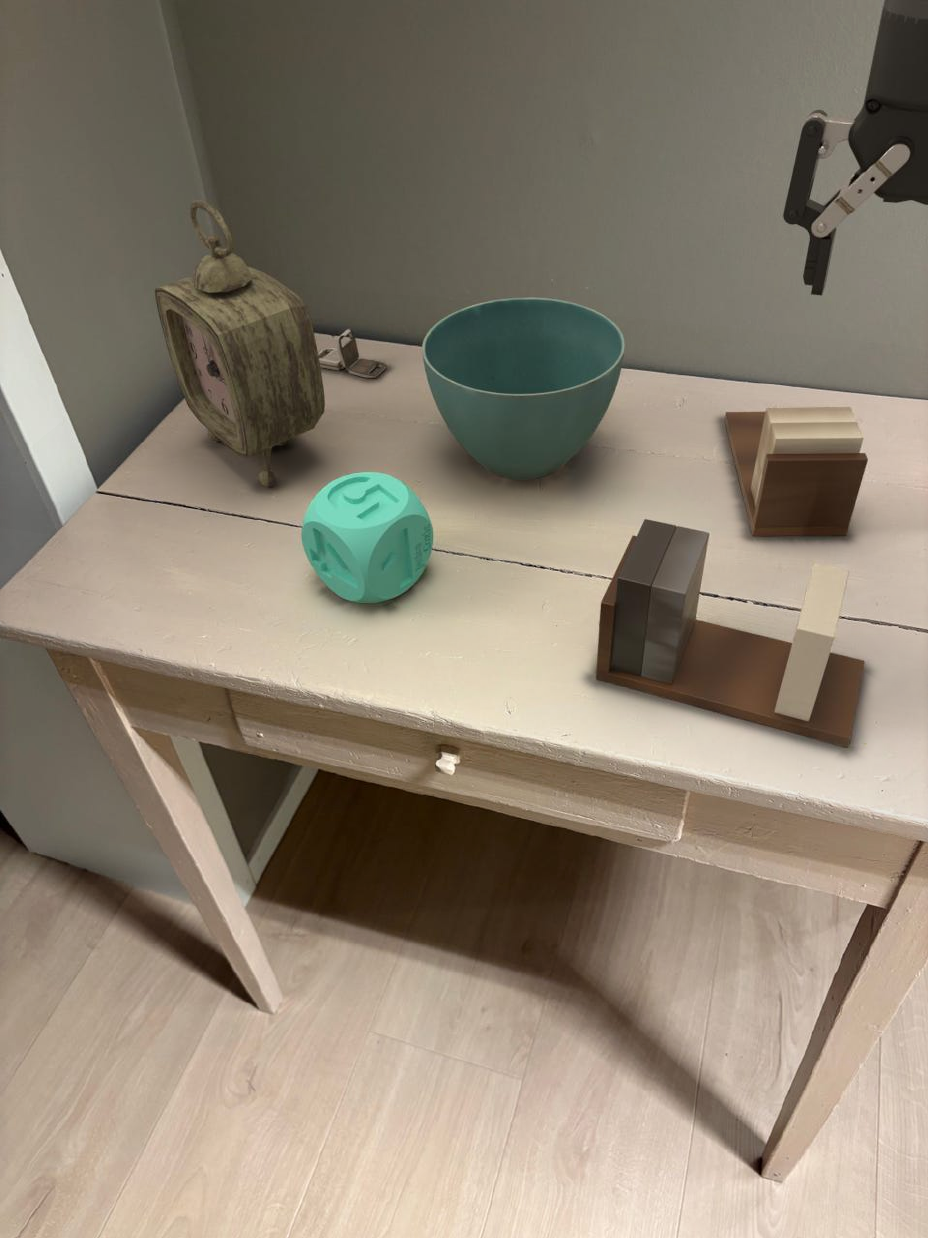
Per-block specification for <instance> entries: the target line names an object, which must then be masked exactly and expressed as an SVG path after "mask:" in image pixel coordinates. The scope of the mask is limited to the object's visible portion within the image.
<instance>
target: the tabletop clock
mask: <svg viewBox="0 0 928 1238" xmlns="http://www.w3.org/2000/svg"><path fill="white" fill-rule="evenodd" d="M198 209H201V210H203V211H204V212H206V213H208V214H209V216H211V217H212V218H213V219H214V220H215V221H216V222H217V224H218V225H219V227H220V228H221V231H222V233H223V234H224V236H225V238H226V243H227V247H226V248H224V247H222V244H221V239H220V237H219V235H216V234H211V235H209V236H208V235H206V234H205V232H204V230H203V229H201V227H200V225H199V223H198V219H197V210H198ZM189 215H190V219H191V223H192V226H193V228H194V231H195V232H196V234H197V236H198V238H199V240H200V241H201V242H202V243H203V245H204V246H205V247H206V248H207V249H208V250H209V252H210V254H207V255H205V256H204V257H202V258H201V259H200V260H199V261H198V263H197V264H196V266H195V268H194V271H193V275H191V276H189V277H185V278H182V279H180V280H176V281H174V282H171V283H168V284H165V285H162V286H159V287H156V288H154V295H155V304H156V308H157V312H158V317H159V321H160V326H161V329H162V332H163V336H164V340H165V345H166V347H167V351H168V354H169V357H170V361H171V363H172V366H173V370H174V373H175V377H176V379H177V382H178V385H179V388H180V391H181V393H182V396H183V397H184V400H185V402H186V405H187V407H188V408H189V410H190V411H191V413H192V414H193V415H194V417H196V419H197V421H199V422H200V424H202V426H203V427H204V428H206V429H207V436H208V438H209V439H210V440H212V441H213V442H218V441H219V442H221V443H222V444H223V445H224V446H226V447H227V448H228V449H230V450H231V451H232V452H234V453H235V454H237V455H238V456H240V457H242V458H247V459H249V458H251V457H253V456H255V455H257V454H259V453H262V461H263V470H262V471H261V472H260V473H259V475H258V479H259V482H260V484H261V485H262V486H264V487H271V486H273V485H274V484H275V483H276V481H277V476H276V473H275V472H274V471H273V470H272V469H271V461H272V459H271V458H272V455H271V454H272V450H273V447H275V446H285V445H287V444H288V443H289V440H291V439H294V438H295V437H298V436H300V435H302V434H304V433H307V432H309V431H311V430H314V429H315V427H316V426H317V424H318V422H319V421H320V419H321V418H322V417H323V415H324V413H325V407H326V399H325V398H326V397H325V388H324V381H323V375H322V367H320V361H319V356H318V353H319V351H318V346H317V341H316V335H315V332H314V327H313V323H312V320H311V316H310V314H309V311H308V308H307V305H306V304H305V302H303V300H302V299H301V297H300V296H298V294H297V293H295V292H294V291H292V290H291V289H289V288H288V287H287V286H286V285H284V284H283V283H282V282H280V281H278V280H276V278H274V277H272V276H270V275H269V274H267V273H265V272H263V271H261V270H259V269H257V268H254V267H251V266H247V264H246V262H245V261H244V260H243V259H242V258H241V257H240V256H238V255H237V254H235V253H233V251H234V241H233V237H232V233H231V231H230V228H229V225H228V224H227V222H226V220H225V219H224V217H223V215H222V214H221V213H220V211H219V210H218V209H217V208H216V207H214V206H213V205H212V204H210V203H209V202H207V201H205V200H204V199H203V200H202V199H196V200H193V201H192V202H191V203H190V207H189Z"/></svg>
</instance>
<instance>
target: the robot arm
mask: <svg viewBox="0 0 928 1238" xmlns="http://www.w3.org/2000/svg"><path fill="white" fill-rule="evenodd" d="M869 70H870V71H869V75H868V79H867V85H866V91H865V96H864V100H863V104H862V108H861V109H860V111H859V113H858V114H857V115H856V117H855V118H854V119H852V118H843V117H833V116H828V113H827V112H826V111H824V110H822V109H816V110H815V109H814V110H813V111H812V112H810V114H808V116H807V119H806V120H805V122H804V124H803V126H802V128H801V132H800V137H799V140H798V146H797V150H796V154H795V159H794V163H793V168H792V173H791V177H790V182H789V186H788V189H787V190H788V191H787V195H786V200H785V203H784V207H783V208H784V209H783V213H782V217H783V220H784V222H785V223H787V224H788V225H791V226H792V225H793V226H795V225H797V226H799V227H800V228H801V227H802V228H803V229H805V230H806V231H807V233H808V235H809V241H808V247H807V252H806V258H805V262H804V263H805V264H804V270H803V275H802V279H803V283H804V285H805V286H811V291H810V295H812V296H822V297H823V294H824V291H825V288H826V284H827V279H828V275H829V269H830V264H831V259H832V255H833V254H832V253H833V248H834V245H835V244H834V243H835V238H836V233H837V227H838V226H839V225H840V224H841V223H842V222H843V221H844V220H845V219H846V218H847V217H848V216H849V215H850V214H852V213H854V212H855V211H856V210H857V209H859V207H860V206H862V205H863V204H864V203H865V202H866V201H867V200H868V199H869V198H870V197H871V196H872V195H873V194H874V195H875V196H876V197H878V198H879V199H882V203H893V204H898V203H904V202H910V201H913V202H915V203H918V204H921V205H924V206H928V0H883V3H882V9H881V15H880V19H879V25H878V30H877V35H876V40H875V44H874V50H873V55H872V60H871V65H870V69H869ZM844 141H847V143H848V146H849V148H850V151H851V152H852V154H853V156H854V158H855V160H856V162H857V164H858V166H859V167H858V168H857V169H856V170H855V171H854V172H853V173H852V174H851V175H849V177H848V178H847V179H846V180H845V181H844V182H843V183H842V185H841V186H840V187H839V188H838V190H836V191H835V193H833V194H832V195H831V196H830V197H829V198H828V199H827V200H826V202H824V203H823V204H821V203H819V202H817V201H815V200H813V199H811V196H812V191H813V186H814V182H815V178H816V175H817V174H816V173H817V169H818V165H819V160H820V159H827V158H829V157H830V156H831V155H832V154H833V153H834V150H835V148H836V146H837V145H838V144H839V143H841V142H844Z"/></svg>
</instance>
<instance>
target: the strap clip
mask: <svg viewBox="0 0 928 1238" xmlns="http://www.w3.org/2000/svg"><path fill="white" fill-rule="evenodd" d="M346 336H349V340H348V341H346V342H345V343H344V344H342V340H343V339H344V338H345V337H346ZM336 347H337V348H334V347H326V348H323V349H321V351H318V356H319V361H320V367H321V369H328V370H332V371H340V370H343V369H344V368H345V370H347V371H348V373H349V374H351V375H353V376H354V375H355V376H358V377H361V378H367V379H368V378H369V379H372V378H376V377H379V375H380V374H381V373H383V371H384V370H385V369H386V368H387V364H386V363H385V362H381V361H378V360H372V359H366V358H360V353H359V350H358V349H359V348H358V344H357V341H356V336H355V334H354V331H353V329H352V328H348V329H346V330H344V332H342V334H340V335H339V336H337V339H336ZM376 368H379V369H377V370H376V371H375V372H374V373H372V371H373V370H374V369H376Z"/></svg>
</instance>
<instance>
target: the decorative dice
mask: <svg viewBox="0 0 928 1238" xmlns="http://www.w3.org/2000/svg"><path fill="white" fill-rule="evenodd" d="M300 535H301V536H300V537H301V543H302V549H303V550H304V553H305V555H306V558H307V560H308V562H309V564H310V565H311V567H312V569H313V571H314V572H315V573H316V575H317V576H318V578H319V579H320V580H321V581H322V582H323V584H324V585H325V586H326V587H327V588H328V589H330V590H331V591H332V592H333V593H334V594H336V595H337V596H338V597H340V598H341V599H344V600H345V601H350V602H353V603H359V604H376V603H383V602H386V601H390V600H392V599H395V598H397V597H399V596H401V595H402V594H404V593H405V592H407V591H408V590H409V589H410V588H411V587H412V586H413V585H415V584H416V582H417V581H418V580H419V578H420V577H421V575H422V574H423V573H424V571H425V570H426V568H427V565H428V563H429V561H430V558H431V555H432V551H433V546H434V528H433V524H432V520H431V518H430V515H429V513H428V510H427V509H426V507H425V505H424V504H423V502H422V500H421V499H420V498H419V496H418V495H417V494H416V493H415V492H414V490H412V488H410V487H409V486H408V485H407V484H406V483H405V482H403V481H401V479H398V478H396V477H394V476H392V475H390V474H386V473H383V472H375V471H362V472H355V473H350V474H346V475H342V476H340V477H338V478H336V479H333V480H332V481H330V482H329V483H328V484H326V485H325V486H324V487H322V489H320V491H318V493H317V494H316V495H315V496H314V498H313V499H312V501H311V502H310V503H309V506H308V508H307V510H306V512H305V515H304V517H303V520H302V527H301V534H300Z"/></svg>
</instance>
